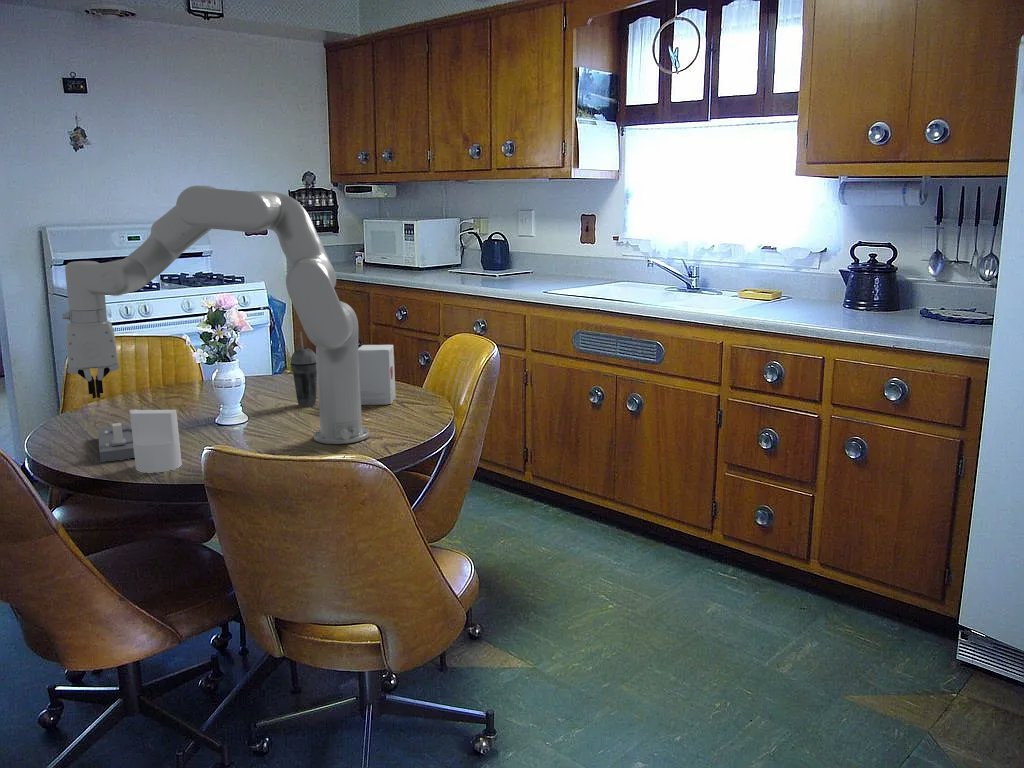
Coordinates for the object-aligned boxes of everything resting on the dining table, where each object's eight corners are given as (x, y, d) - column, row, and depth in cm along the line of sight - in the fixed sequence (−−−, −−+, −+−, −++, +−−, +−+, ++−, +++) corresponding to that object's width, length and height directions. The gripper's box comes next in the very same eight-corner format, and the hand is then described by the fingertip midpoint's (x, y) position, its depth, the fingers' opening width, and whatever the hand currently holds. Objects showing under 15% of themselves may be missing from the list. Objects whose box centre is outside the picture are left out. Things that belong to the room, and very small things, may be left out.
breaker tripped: (142, 429, 207) (140, 411, 206) (129, 430, 206) (127, 413, 205) (141, 425, 210) (139, 408, 209) (128, 427, 209) (126, 409, 208)
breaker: (126, 444, 195) (124, 425, 194) (112, 445, 194) (110, 427, 193) (125, 440, 198) (123, 421, 197) (111, 441, 197) (109, 423, 196)
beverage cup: (324, 402, 242) (319, 329, 238) (316, 408, 235) (311, 333, 231) (298, 401, 243) (293, 329, 238) (289, 408, 236) (283, 333, 231)
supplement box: (391, 405, 237) (389, 349, 234) (358, 405, 238) (355, 350, 234) (396, 397, 246) (394, 343, 243) (364, 397, 246) (361, 344, 243)
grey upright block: (188, 460, 191) (183, 406, 189) (171, 473, 182) (165, 416, 180) (147, 460, 191) (141, 406, 189) (128, 473, 183) (121, 417, 180)
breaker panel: (180, 452, 197) (179, 441, 196) (100, 463, 190) (99, 451, 190) (171, 429, 216) (170, 419, 216) (99, 438, 210) (97, 427, 209)
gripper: (50, 321, 193) (59, 403, 197) (125, 317, 199) (132, 397, 203) (51, 316, 200) (60, 396, 204) (124, 313, 206) (131, 390, 210)
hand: (96, 396), depth 203 cm, fingers closed
